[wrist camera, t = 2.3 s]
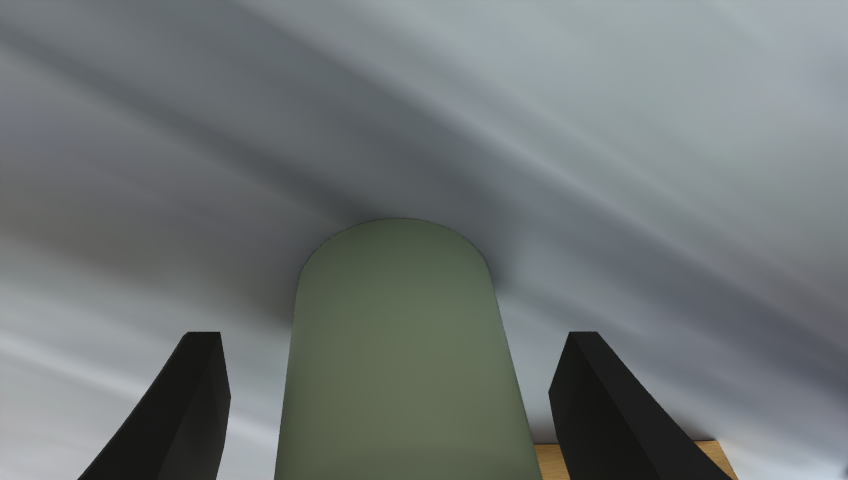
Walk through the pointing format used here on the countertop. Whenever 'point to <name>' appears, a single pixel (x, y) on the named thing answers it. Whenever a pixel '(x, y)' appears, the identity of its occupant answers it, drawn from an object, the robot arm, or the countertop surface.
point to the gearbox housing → (558, 476)
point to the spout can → (401, 363)
